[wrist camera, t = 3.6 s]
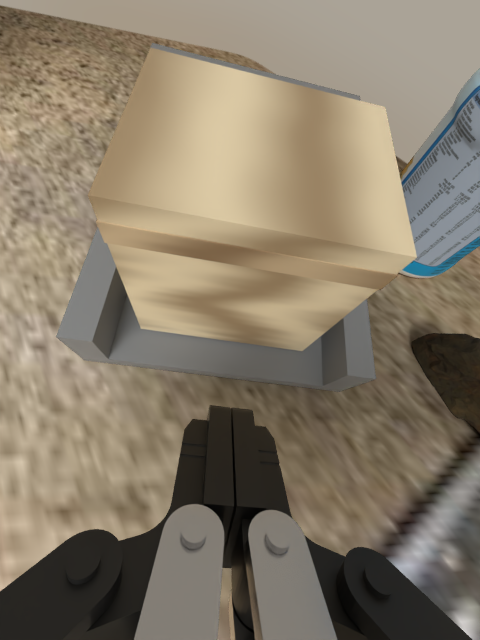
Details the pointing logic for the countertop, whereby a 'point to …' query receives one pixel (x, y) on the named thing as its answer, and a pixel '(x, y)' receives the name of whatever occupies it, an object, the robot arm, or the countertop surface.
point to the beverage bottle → (446, 188)
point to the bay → (198, 352)
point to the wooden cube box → (248, 204)
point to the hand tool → (453, 371)
